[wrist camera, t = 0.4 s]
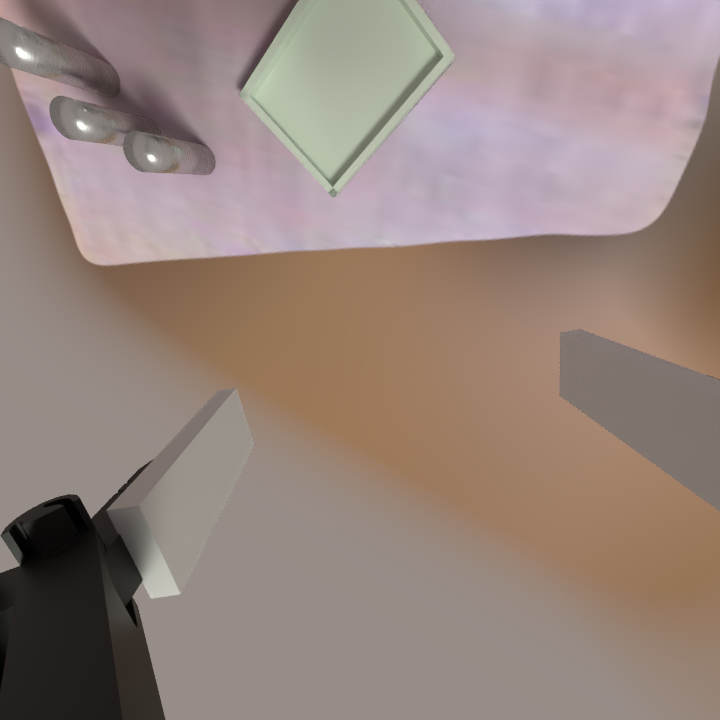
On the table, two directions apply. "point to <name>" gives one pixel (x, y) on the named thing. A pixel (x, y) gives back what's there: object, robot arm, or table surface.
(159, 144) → the spacers
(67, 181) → the table surface
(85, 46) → the table surface
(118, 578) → the robot arm
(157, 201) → the table surface
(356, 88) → the tray
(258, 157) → the table surface
